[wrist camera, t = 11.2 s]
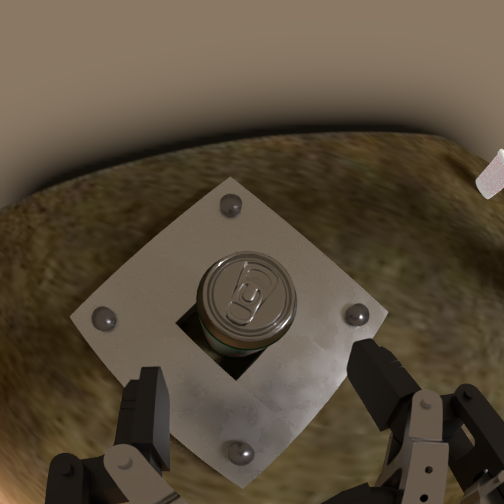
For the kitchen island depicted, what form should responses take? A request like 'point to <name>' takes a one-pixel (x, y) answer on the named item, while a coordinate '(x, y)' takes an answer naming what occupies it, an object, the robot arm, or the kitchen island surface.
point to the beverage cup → (492, 177)
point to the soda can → (245, 303)
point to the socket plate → (199, 363)
